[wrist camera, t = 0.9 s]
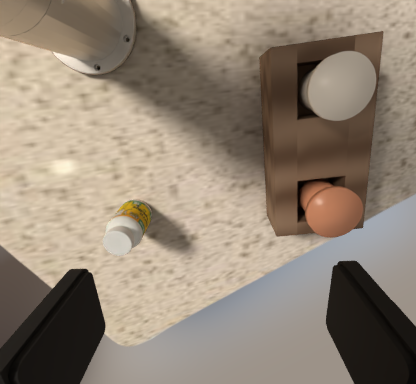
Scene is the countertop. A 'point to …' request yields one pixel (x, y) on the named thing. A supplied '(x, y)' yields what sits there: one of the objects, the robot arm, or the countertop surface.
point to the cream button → (338, 86)
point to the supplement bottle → (127, 227)
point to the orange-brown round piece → (330, 207)
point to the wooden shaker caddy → (311, 131)
